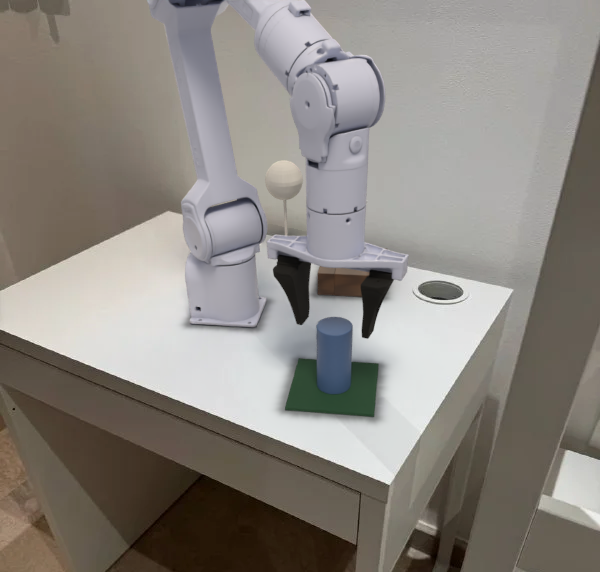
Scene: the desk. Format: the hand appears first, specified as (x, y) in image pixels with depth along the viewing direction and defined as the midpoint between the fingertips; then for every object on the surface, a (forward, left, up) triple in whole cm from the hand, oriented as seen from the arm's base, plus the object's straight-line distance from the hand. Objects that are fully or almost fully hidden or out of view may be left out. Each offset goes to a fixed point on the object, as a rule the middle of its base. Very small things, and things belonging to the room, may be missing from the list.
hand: (334, 327), depth 65 cm
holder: (0, +27, -8) cm, 29 cm away
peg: (0, 0, -8) cm, 8 cm away
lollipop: (-12, +37, -8) cm, 40 cm away
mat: (0, 0, -8) cm, 8 cm away
